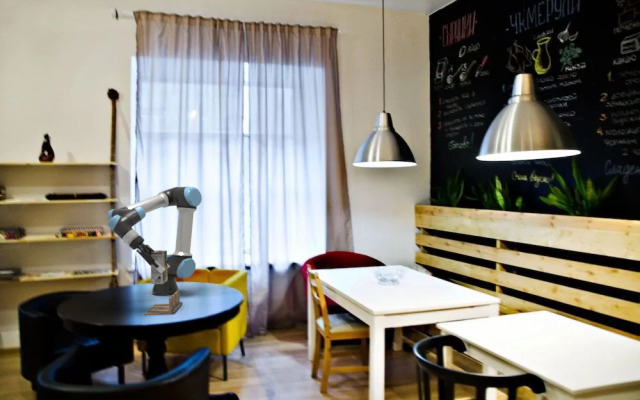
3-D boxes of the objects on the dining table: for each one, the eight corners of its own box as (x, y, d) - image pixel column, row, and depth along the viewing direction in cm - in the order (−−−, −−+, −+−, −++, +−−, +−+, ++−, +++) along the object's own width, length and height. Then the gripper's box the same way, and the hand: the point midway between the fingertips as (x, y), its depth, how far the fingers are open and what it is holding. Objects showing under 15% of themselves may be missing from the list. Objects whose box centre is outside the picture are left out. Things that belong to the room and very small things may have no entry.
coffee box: (155, 280, 248) (155, 250, 248) (167, 280, 249) (167, 250, 248) (150, 284, 239) (149, 252, 239) (163, 283, 240) (162, 252, 239)
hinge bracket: (155, 305, 254) (155, 290, 254) (182, 304, 255) (182, 289, 255) (144, 315, 234) (144, 299, 234) (174, 314, 235) (174, 298, 235)
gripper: (135, 242, 253) (166, 271, 255) (121, 247, 232) (154, 279, 233) (145, 232, 254) (175, 261, 255) (131, 236, 232) (165, 268, 233)
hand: (165, 269), depth 244 cm, fingers closed on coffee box, 9 cm apart
